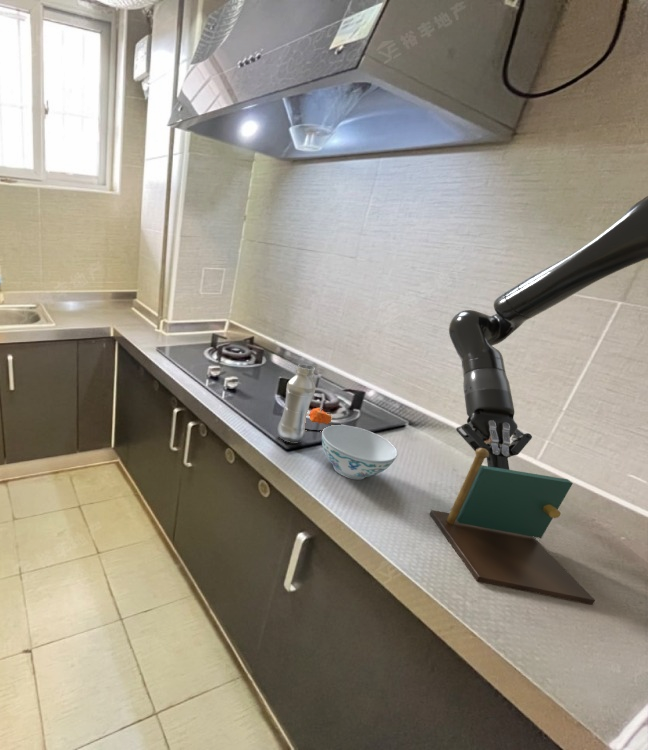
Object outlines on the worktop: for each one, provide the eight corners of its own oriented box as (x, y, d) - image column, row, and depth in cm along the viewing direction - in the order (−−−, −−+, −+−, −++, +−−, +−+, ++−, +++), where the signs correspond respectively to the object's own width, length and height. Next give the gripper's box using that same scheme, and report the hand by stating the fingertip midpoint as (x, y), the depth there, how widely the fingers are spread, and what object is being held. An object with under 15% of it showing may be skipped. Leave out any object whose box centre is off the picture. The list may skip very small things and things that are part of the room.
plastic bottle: (302, 449, 96) (322, 373, 88) (274, 442, 98) (291, 368, 90) (302, 437, 101) (321, 365, 94) (275, 431, 103) (291, 360, 96)
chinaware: (309, 447, 97) (316, 420, 94) (373, 458, 94) (383, 431, 91) (321, 484, 83) (330, 453, 80) (397, 498, 80) (409, 466, 78)
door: (536, 533, 71) (567, 479, 67) (547, 544, 69) (581, 489, 64) (455, 518, 73) (480, 464, 69) (463, 529, 71) (490, 474, 66)
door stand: (520, 530, 74) (562, 453, 68) (592, 605, 59) (654, 515, 53) (429, 513, 76) (461, 438, 70) (476, 581, 62) (523, 493, 56)
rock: (329, 413, 117) (333, 400, 115) (348, 434, 105) (353, 420, 104) (290, 410, 116) (293, 397, 115) (305, 430, 105) (308, 416, 103)
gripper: (464, 382, 80) (475, 465, 73) (536, 392, 78) (555, 479, 71) (442, 396, 87) (450, 473, 80) (508, 405, 85) (522, 485, 78)
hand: (499, 475), depth 76 cm, fingers closed
